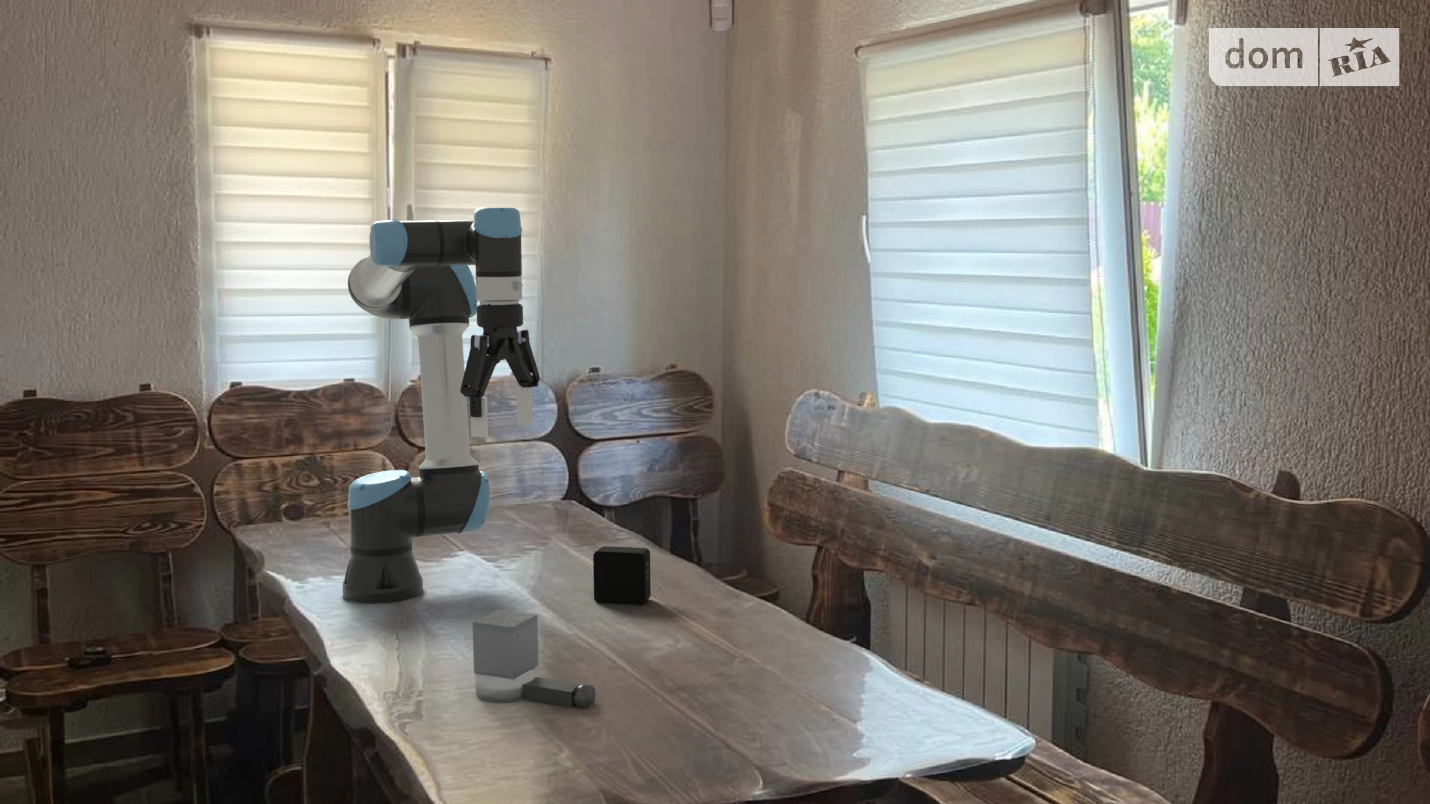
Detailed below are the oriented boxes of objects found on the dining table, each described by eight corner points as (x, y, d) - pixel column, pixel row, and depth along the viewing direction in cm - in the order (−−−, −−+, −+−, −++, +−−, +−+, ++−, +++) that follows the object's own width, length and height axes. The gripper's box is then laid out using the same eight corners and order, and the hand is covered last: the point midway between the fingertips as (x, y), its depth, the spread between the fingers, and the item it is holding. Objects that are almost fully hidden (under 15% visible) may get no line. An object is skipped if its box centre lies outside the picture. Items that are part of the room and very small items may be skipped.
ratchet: (464, 701, 197) (462, 639, 195) (497, 682, 205) (495, 623, 203) (574, 719, 189) (573, 655, 188) (604, 699, 197) (603, 637, 196)
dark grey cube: (513, 679, 194) (512, 627, 193) (474, 673, 197) (472, 621, 196) (538, 665, 200) (537, 614, 199) (499, 659, 203) (498, 609, 202)
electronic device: (645, 605, 244) (644, 553, 243) (593, 602, 246) (592, 551, 245) (650, 599, 248) (650, 548, 247) (600, 596, 250) (599, 545, 249)
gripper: (475, 307, 201) (479, 443, 204) (558, 299, 223) (560, 421, 226) (435, 306, 204) (439, 440, 207) (520, 298, 226) (523, 419, 229)
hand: (502, 431), depth 216 cm, fingers open, 13 cm apart
